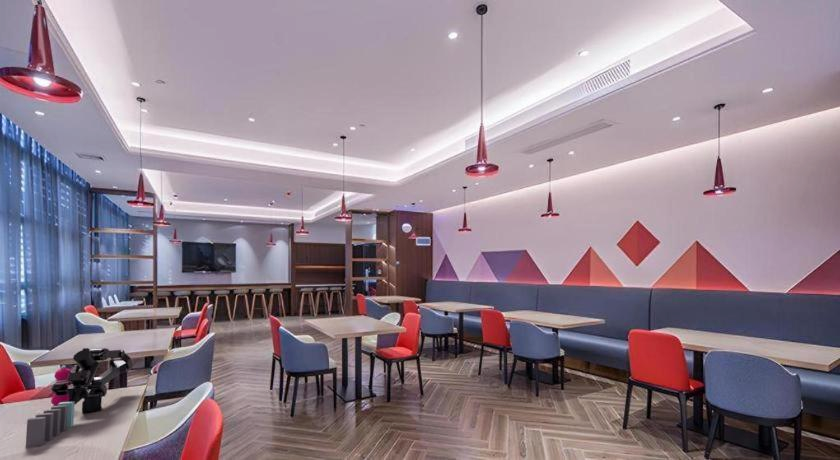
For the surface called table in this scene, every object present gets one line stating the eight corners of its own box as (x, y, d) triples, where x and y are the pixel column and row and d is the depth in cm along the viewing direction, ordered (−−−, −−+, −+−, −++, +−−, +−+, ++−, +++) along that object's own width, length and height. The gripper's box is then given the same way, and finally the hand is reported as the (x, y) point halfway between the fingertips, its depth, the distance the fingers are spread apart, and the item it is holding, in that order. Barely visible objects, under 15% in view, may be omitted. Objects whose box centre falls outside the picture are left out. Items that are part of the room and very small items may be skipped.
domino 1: (28, 445, 150) (30, 417, 151) (44, 444, 151) (46, 416, 152) (25, 447, 148) (27, 419, 149) (41, 445, 149) (42, 418, 150)
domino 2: (37, 440, 154) (38, 413, 155) (52, 439, 155) (53, 412, 156) (34, 442, 152) (35, 415, 153) (49, 441, 153) (50, 414, 154)
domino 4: (52, 431, 162) (53, 406, 163) (66, 430, 163) (68, 405, 164) (49, 433, 161) (51, 407, 161) (63, 431, 162) (65, 406, 162)
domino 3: (44, 435, 158) (46, 409, 159) (59, 434, 159) (61, 408, 160) (41, 437, 156) (43, 411, 157) (56, 436, 157) (58, 410, 158)
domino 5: (59, 427, 166) (60, 402, 167) (73, 426, 167) (74, 401, 168) (56, 428, 165) (58, 403, 165) (70, 427, 166) (72, 402, 166)
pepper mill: (74, 407, 189) (77, 364, 191) (56, 412, 182) (59, 367, 184) (65, 405, 192) (67, 362, 193) (46, 410, 185) (49, 366, 186)
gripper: (55, 365, 173) (34, 399, 162) (104, 362, 177) (87, 396, 166) (66, 378, 180) (47, 412, 169) (113, 375, 184) (97, 408, 173)
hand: (69, 407), depth 169 cm, fingers closed
